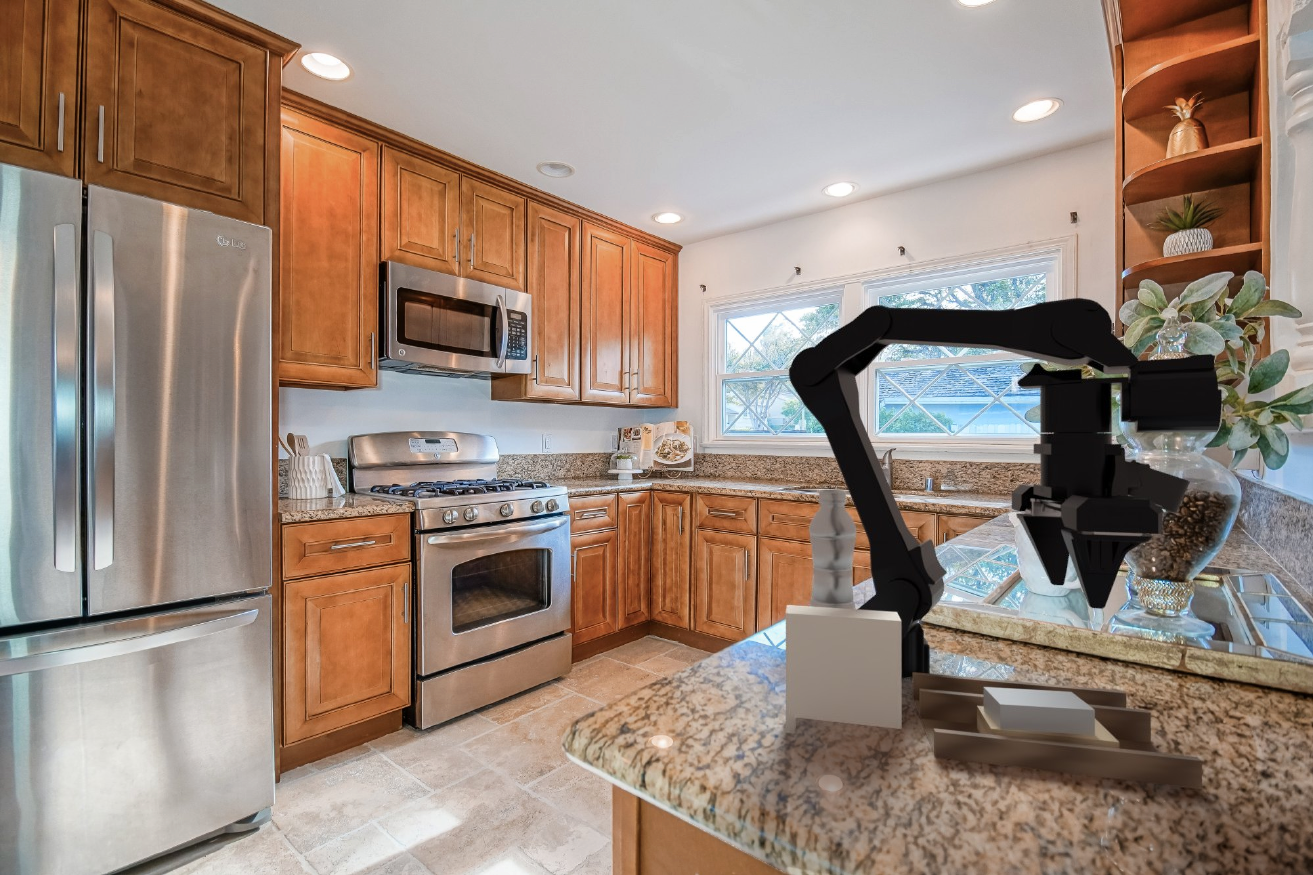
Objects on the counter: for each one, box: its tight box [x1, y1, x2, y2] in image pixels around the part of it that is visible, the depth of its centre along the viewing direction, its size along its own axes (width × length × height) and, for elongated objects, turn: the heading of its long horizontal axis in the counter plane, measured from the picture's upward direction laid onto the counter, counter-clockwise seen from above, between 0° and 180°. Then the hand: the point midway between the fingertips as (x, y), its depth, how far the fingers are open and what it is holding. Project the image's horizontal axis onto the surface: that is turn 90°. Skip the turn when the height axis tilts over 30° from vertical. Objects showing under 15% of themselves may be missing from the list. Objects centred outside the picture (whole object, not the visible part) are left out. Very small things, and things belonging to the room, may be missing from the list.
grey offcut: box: [984, 687, 1095, 735], centre depth 51 cm, size 7×4×2 cm, turn 82°
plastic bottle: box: [808, 489, 857, 609], centre depth 86 cm, size 6×7×20 cm
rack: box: [909, 672, 1203, 790], centre depth 54 cm, size 18×14×4 cm
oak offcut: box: [977, 706, 1119, 748], centre depth 51 cm, size 9×4×2 cm, turn 76°
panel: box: [785, 604, 903, 735], centre depth 57 cm, size 10×3×11 cm, turn 76°
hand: (1075, 595), depth 59 cm, fingers open, 9 cm apart
